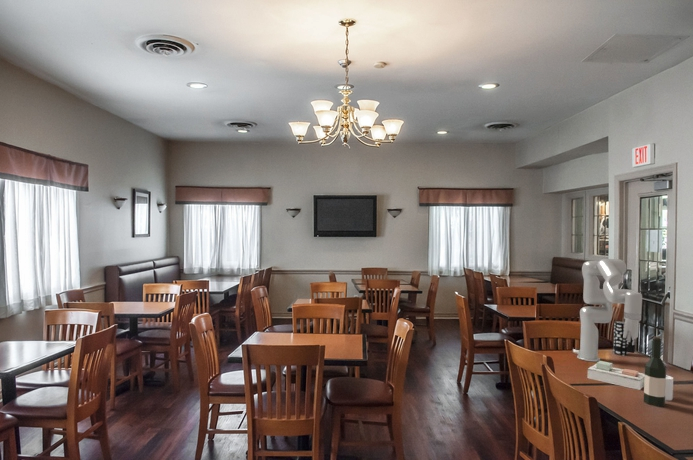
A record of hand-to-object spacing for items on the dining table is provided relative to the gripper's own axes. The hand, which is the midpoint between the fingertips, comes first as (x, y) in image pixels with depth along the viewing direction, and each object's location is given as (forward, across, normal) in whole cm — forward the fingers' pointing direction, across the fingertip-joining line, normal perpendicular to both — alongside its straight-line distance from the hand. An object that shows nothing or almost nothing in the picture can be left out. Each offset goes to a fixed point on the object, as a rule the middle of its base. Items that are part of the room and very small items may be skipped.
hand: (630, 352), depth 246 cm
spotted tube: (+17, -64, -20) cm, 70 cm away
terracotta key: (+13, 0, 0) cm, 13 cm away
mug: (+16, +10, +15) cm, 24 cm away
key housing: (+16, 0, -6) cm, 17 cm away
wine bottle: (+16, +24, +15) cm, 32 cm away
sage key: (+11, 0, -12) cm, 16 cm away
